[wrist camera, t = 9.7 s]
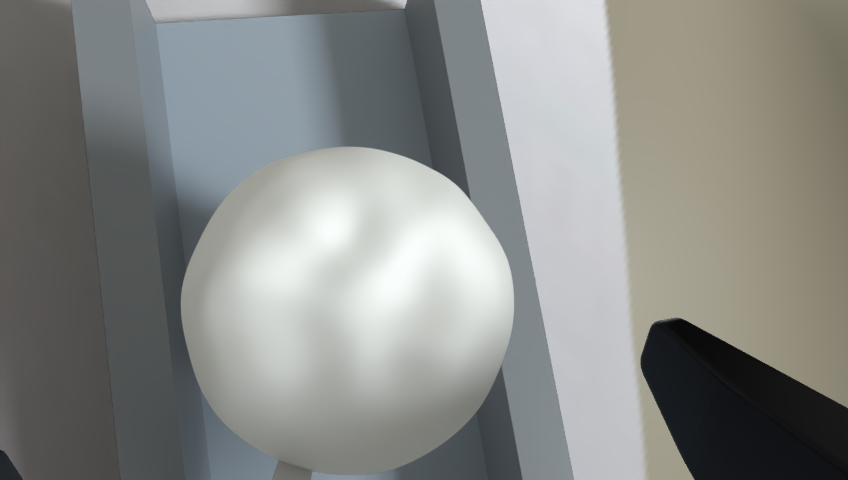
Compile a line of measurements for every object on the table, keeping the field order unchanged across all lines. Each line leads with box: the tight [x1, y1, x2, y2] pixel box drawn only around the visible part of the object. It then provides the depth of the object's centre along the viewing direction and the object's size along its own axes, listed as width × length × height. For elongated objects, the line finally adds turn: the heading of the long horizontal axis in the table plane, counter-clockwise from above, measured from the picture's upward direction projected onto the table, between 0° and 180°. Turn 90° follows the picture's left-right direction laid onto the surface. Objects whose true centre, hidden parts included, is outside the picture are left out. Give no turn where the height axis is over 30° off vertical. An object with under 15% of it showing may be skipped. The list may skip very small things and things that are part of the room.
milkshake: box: [181, 147, 514, 480], centre depth 11 cm, size 5×5×10 cm
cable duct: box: [71, 0, 574, 480], centre depth 15 cm, size 22×9×4 cm, turn 10°
